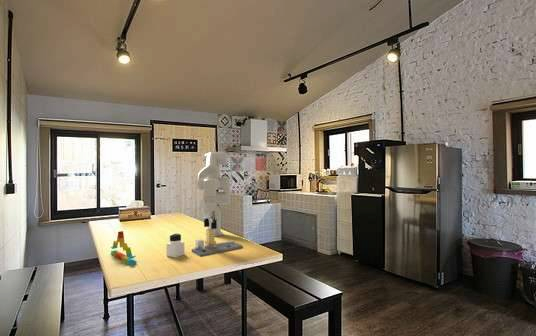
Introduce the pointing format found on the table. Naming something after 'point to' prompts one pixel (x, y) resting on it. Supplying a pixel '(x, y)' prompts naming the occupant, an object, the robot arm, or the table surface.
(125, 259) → the multicolored stepped triangle frame
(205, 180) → the robot arm
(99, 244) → the table surface
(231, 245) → the bolt plate
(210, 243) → the brass slider
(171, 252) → the medicine bottle
